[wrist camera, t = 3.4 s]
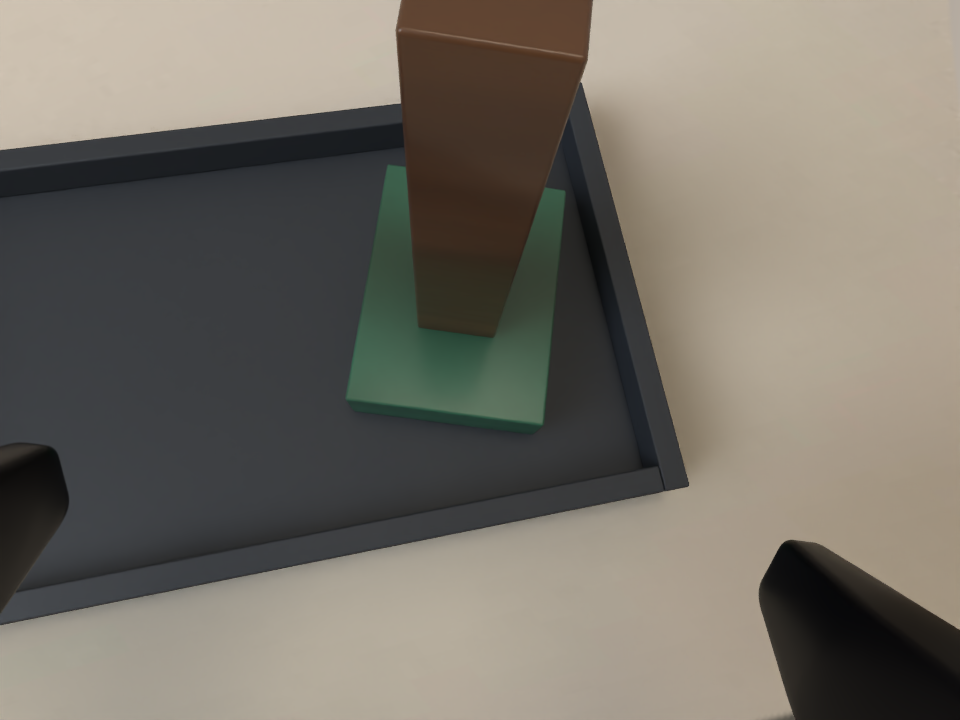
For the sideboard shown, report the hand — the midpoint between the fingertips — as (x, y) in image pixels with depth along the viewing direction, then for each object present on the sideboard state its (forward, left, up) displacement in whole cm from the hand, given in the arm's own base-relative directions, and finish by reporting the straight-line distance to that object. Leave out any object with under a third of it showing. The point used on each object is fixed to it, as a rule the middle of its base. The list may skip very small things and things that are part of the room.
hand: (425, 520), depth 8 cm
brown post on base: (+4, -6, -12) cm, 14 cm away
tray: (+8, -1, -13) cm, 15 cm away
